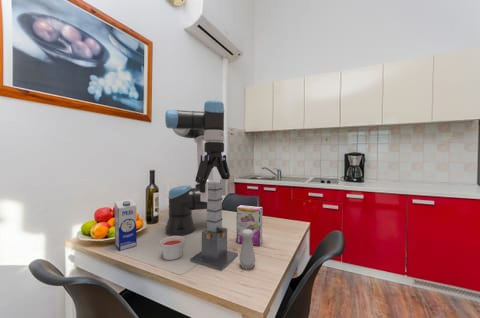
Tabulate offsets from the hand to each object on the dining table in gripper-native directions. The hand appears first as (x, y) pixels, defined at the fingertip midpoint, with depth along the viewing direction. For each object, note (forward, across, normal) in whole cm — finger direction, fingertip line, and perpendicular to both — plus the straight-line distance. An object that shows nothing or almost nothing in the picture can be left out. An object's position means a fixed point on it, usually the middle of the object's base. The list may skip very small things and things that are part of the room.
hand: (214, 198), depth 78 cm
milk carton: (+24, -9, +41) cm, 48 cm away
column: (+16, 0, 0) cm, 16 cm away
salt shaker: (+24, +1, -14) cm, 27 cm away
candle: (+24, -6, +16) cm, 29 cm away
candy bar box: (+24, +19, -6) cm, 31 cm away
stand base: (+23, 0, 0) cm, 23 cm away
